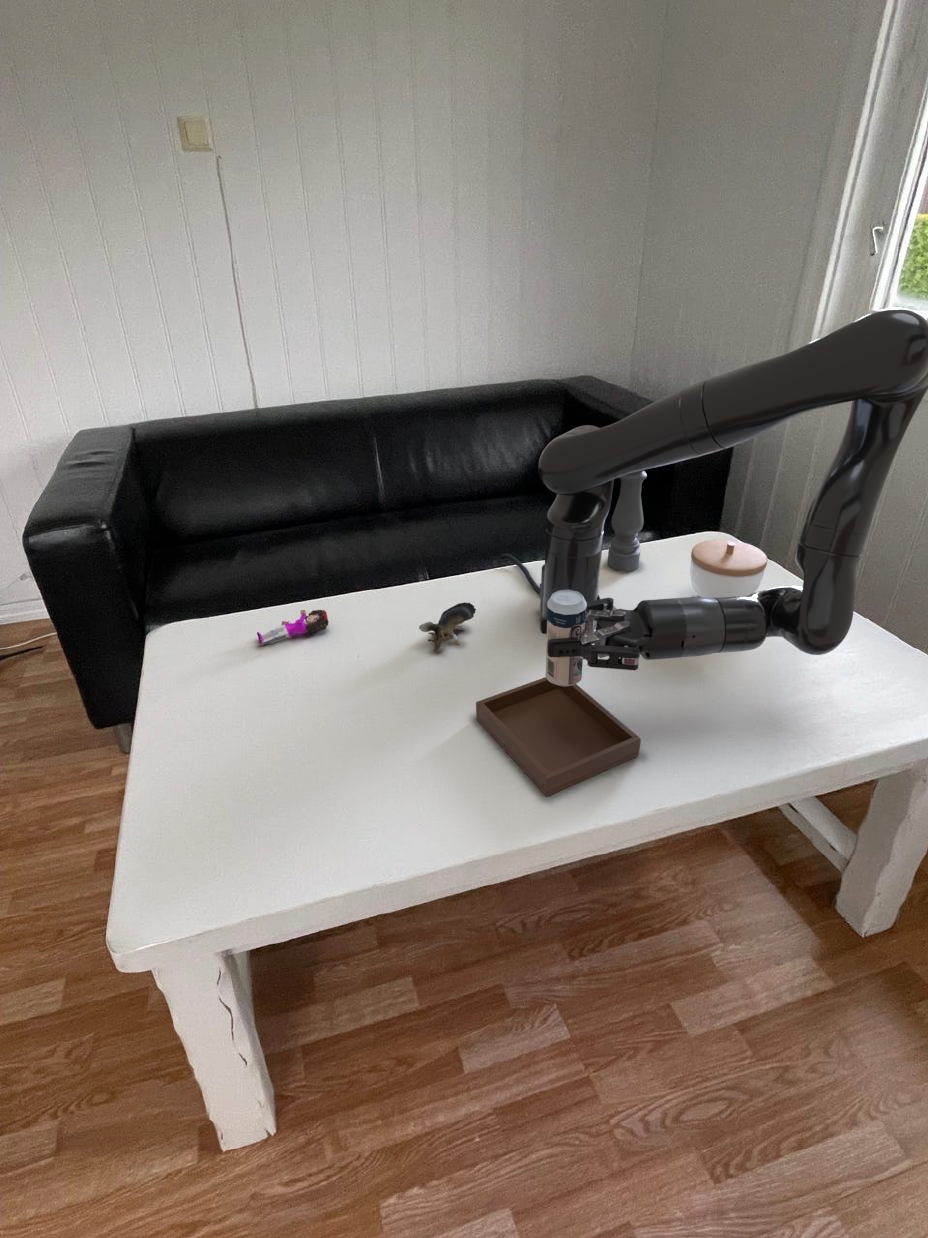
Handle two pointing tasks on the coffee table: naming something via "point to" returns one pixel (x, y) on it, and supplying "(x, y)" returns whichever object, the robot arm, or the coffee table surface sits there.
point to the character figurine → (297, 627)
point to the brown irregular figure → (449, 624)
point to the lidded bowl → (726, 568)
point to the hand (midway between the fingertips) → (544, 636)
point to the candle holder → (627, 524)
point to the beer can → (565, 635)
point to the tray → (556, 733)
